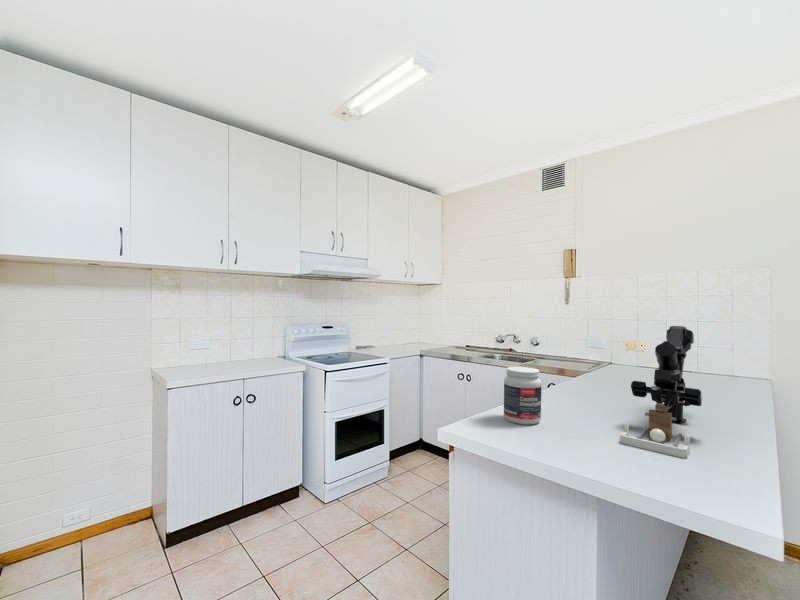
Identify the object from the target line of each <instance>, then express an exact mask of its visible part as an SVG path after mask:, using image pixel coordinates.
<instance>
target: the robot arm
mask: <svg viewBox="0 0 800 600" xmlns="http://www.w3.org/2000/svg"><path fill="white" fill-rule="evenodd" d="M665 338H666V340H664V341H663V342H662V343H659V344H658V345H656V346H655V349H654V350H655V352H654V353H655V357H656V361H657V362H656V363H657V364H658V367H657V368H658V369H657V368H656V369H654V375H653V376H654V377H653V384H654V385H651V386H647V384H646V381H642V380H641V381H639V380H633V381H631V384H630V389H631V391H632V392H631V393H632V395H633V396H634V397H638V398H646V397H647V395H648V394H650V398H651V401H653V402H655V403H656V404H657V403H662V404H664V405H665V407H666V410H665V411H664V412H670V413H672V417H674V418H676V421H673V420H672V423H678V424H682V423H685V422H686V421H687V418H685V417H684V406H685V407H690V406H694V407H695V406H697V407H700V406H702V402H703V401H702V400H703V398H702V390H700V389H699V388H693V387H686V382H685V379H684V378H683V373H684V365H685V360H686V358H687V355H688V354H687V352H689V351H690V350H691V349H692V344H694V343H695V342H694V341H695V335H694V332H693V331H692V330H690V329H687V327H685V326H683V325H681V326H680V325H672V326H671V325H670V326H669V328H668V329H667V330H666V337H665Z"/></svg>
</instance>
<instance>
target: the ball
mask: <svg viewBox="0 0 800 600" xmlns="http://www.w3.org/2000/svg"><path fill="white" fill-rule="evenodd" d="M649 438H650V439H651V441H652V442H657V443H661V444H662V443H663V442H664V441H665V438H666V436H665V433H664V432H663V431H662V430H660V429H653V430H651V432H650V436H649Z"/></svg>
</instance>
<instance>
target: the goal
mask: <svg viewBox="0 0 800 600" xmlns="http://www.w3.org/2000/svg"><path fill="white" fill-rule="evenodd" d="M623 425H624V428H623V431H622V433H620V436H619V437H620V438H619V440H620V441H619V442H620V444H623V445H627V446H631V447H637V448H639V449H643V450H644V449H645V450H648V451H653V452H657V453H661V454H665V455H670V456H675V457H677V458H678V457H679V458H682V459H687V458H688V456H689V453H690V449H691V447H690V443H691V438H690V437H691V436H690V435H689V434H686V433H685V434H684V443H683V446H682V447H680V446H677V447H675V446H673V445H671V444H670V445H669V444H665V443H664V444H663V443H662V442H661V443H659V442H655V441H653V440H647V439H643V438H641V439H639V438H637V437H633V436H630V432H629V431H630V430H629V428H630V423H629V422H628V421H627V422H625V421H624V424H623Z"/></svg>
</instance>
